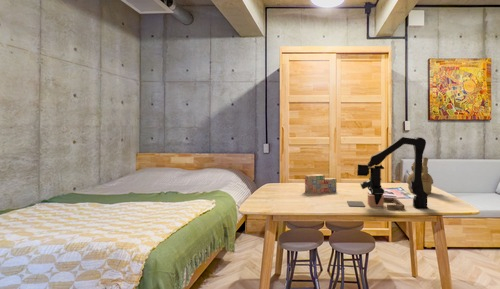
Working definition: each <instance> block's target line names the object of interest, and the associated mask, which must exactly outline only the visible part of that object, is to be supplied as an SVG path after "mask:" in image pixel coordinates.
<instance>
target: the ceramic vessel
mask: <svg viewBox="0 0 500 289" xmlns="http://www.w3.org/2000/svg"><path fill="white" fill-rule="evenodd" d="M428 162H429V158H428V157H423V158H422V183H423V189H424V190H423V191H425V192H426V193H427V194H428V195H430V194H431V193H432V185H433V184H434V179H433V177H432V175H431V174H430V173H429V168H428ZM410 169H411V171H412V172H411V173H410V174H409V175H408V176H407V179H406V180H407V181H406V183H407V184H408V186H407V188H408V190H409V191H410V192H411V194H414V193H413V192H412V190H411V188H410V187H409V186H410V180H413V177H414V162H412V164H411V167H410Z"/></svg>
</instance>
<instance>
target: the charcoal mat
mask: <svg viewBox="0 0 500 289" xmlns="http://www.w3.org/2000/svg"><path fill="white" fill-rule="evenodd" d="M346 203H347V205H348V207H356V208H365V207H366V204H365V203H364V202H363V201H361V200H359V201H357V200H347V201H346Z"/></svg>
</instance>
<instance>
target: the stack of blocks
mask: <svg viewBox="0 0 500 289" xmlns="http://www.w3.org/2000/svg"><path fill="white" fill-rule="evenodd" d="M304 192H305V193H307V194H321V193H335V192H337V178H335V177H325V175H324V174H322V173H318V174H305V175H304Z"/></svg>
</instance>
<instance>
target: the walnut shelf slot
mask: <svg viewBox="0 0 500 289" xmlns="http://www.w3.org/2000/svg"><path fill="white" fill-rule="evenodd" d="M384 203H390V204H386V210H392V211H393V210H394V211H395V210H396V211H405V204H403V202H401V201H400V200H399V199H397V198H396V197H389V196H388V197H387V196H385V197H384ZM391 203H394V204H391Z"/></svg>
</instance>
